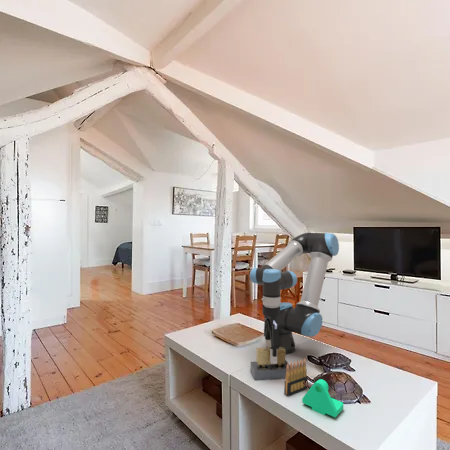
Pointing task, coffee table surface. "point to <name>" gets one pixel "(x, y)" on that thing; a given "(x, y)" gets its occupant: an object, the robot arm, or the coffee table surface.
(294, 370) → the ammunition clip
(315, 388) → the camera mount
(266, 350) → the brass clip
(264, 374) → the grey block with holes
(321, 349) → the coffee table surface
